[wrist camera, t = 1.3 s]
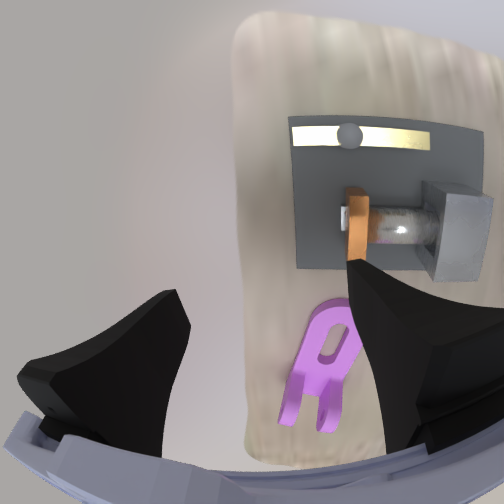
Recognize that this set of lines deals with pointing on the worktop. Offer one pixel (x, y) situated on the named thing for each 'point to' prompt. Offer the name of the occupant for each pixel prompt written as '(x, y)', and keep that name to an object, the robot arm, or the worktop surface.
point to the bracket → (321, 366)
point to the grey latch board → (371, 182)
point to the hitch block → (451, 230)
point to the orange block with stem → (384, 225)
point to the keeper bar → (370, 137)
